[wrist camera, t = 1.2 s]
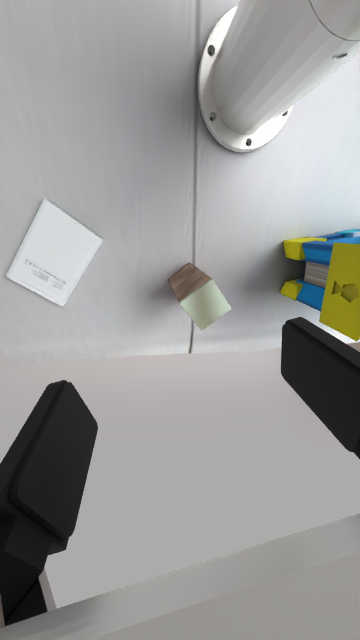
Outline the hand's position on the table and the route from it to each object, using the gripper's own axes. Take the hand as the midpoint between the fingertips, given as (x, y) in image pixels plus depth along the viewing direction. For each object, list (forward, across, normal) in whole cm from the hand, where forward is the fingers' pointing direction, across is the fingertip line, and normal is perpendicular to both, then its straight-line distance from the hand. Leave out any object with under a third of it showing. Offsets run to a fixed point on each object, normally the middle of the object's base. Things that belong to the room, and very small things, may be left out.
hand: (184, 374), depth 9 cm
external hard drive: (+27, +14, -4) cm, 30 cm away
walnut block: (+26, -4, +4) cm, 27 cm away
